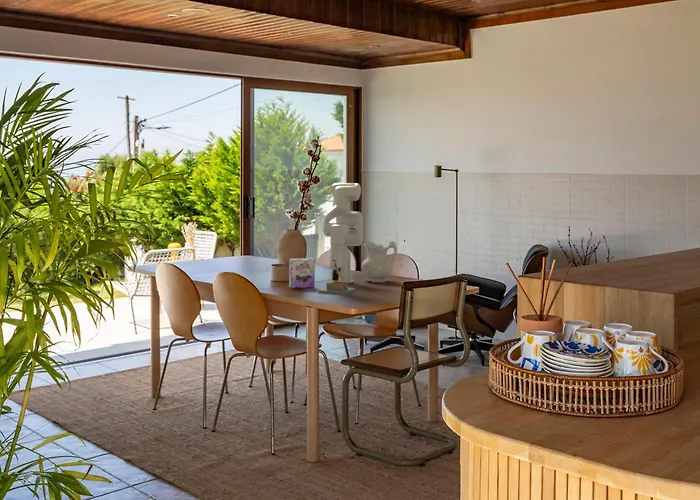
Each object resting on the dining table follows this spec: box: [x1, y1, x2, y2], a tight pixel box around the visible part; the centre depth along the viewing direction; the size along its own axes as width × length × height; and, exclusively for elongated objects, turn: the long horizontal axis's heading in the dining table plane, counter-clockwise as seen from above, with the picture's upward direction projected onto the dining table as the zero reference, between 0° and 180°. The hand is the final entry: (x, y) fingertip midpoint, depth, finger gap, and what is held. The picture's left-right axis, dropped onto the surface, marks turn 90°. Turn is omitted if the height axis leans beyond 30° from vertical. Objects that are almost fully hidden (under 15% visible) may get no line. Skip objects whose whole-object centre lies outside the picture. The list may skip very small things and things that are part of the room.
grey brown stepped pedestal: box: [317, 280, 356, 295], centre depth 462 cm, size 16×16×6 cm
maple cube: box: [330, 271, 343, 281], centre depth 462 cm, size 5×5×5 cm
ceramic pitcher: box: [361, 241, 398, 283], centre depth 509 cm, size 22×20×25 cm
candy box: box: [288, 257, 316, 289], centre depth 479 cm, size 14×6×16 cm, turn 105°
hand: (337, 279), depth 462 cm, fingers closed on maple cube, 5 cm apart
